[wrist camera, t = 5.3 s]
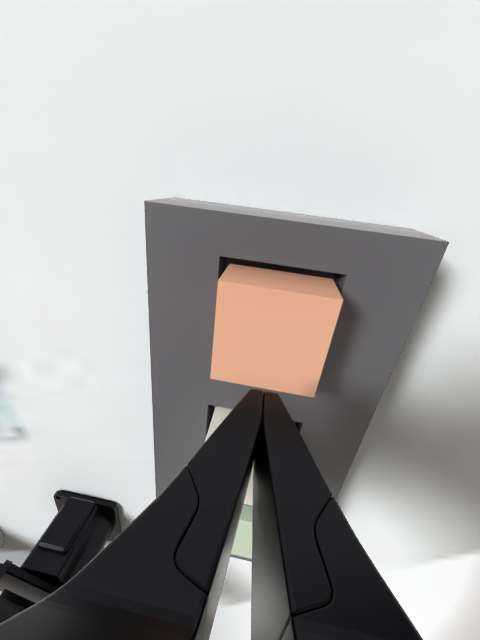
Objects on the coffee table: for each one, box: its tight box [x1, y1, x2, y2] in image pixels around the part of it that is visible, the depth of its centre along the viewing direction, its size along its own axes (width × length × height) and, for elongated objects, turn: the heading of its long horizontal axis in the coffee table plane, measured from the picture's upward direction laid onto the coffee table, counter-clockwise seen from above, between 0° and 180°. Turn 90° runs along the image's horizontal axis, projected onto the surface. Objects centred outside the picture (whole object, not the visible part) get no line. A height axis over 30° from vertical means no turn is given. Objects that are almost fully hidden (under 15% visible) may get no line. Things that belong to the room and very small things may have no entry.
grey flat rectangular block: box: [144, 198, 449, 562], centre depth 18 cm, size 26×12×4 cm, turn 174°
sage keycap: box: [231, 505, 253, 559], centre depth 21 cm, size 5×5×2 cm
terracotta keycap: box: [210, 264, 343, 398], centre depth 12 cm, size 5×5×2 cm
